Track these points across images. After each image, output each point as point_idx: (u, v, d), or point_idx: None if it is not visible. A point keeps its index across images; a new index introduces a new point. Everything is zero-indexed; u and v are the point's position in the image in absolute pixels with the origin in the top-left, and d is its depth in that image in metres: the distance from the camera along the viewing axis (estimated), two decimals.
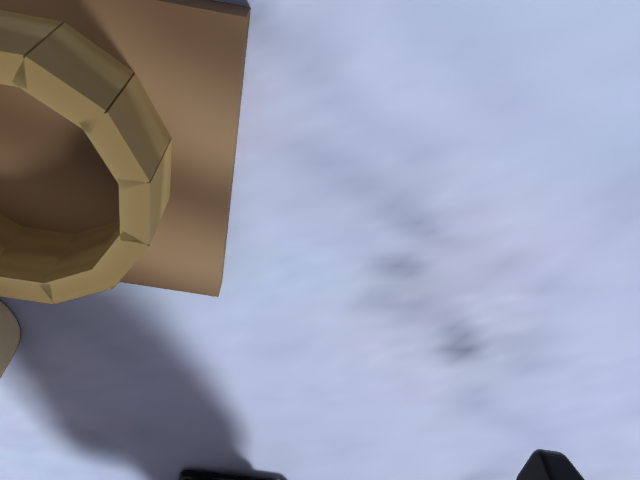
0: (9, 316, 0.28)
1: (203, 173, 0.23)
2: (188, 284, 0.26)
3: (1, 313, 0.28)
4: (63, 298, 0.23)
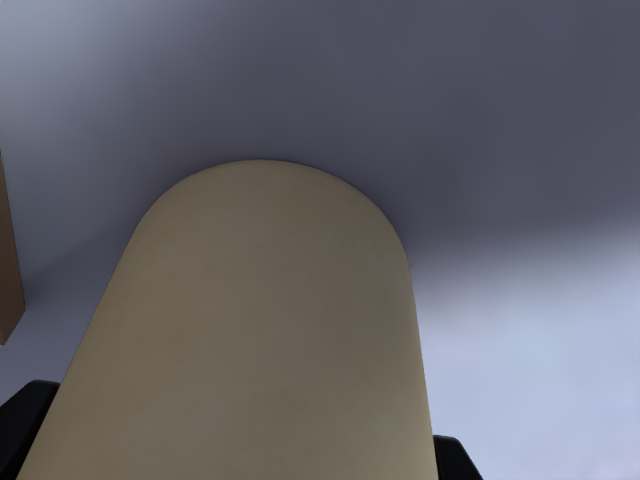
0: (219, 169, 0.10)
1: None
2: None
3: (192, 184, 0.10)
4: None
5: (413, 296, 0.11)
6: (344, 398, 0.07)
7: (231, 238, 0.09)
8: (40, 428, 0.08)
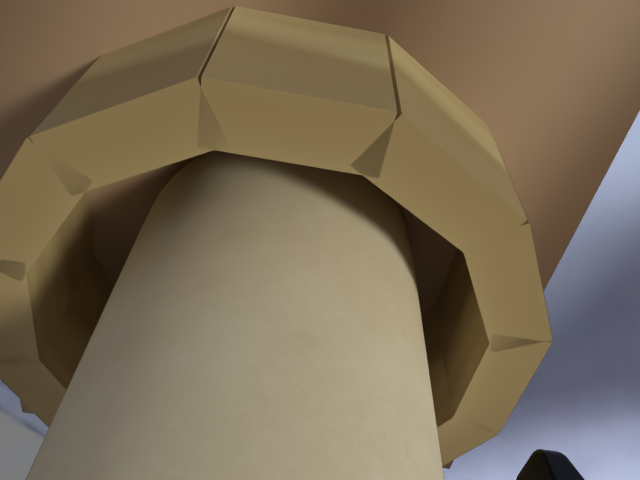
0: None
1: None
2: None
3: (209, 158, 0.11)
4: (538, 321, 0.10)
5: (413, 264, 0.11)
6: (352, 338, 0.08)
7: (247, 204, 0.09)
8: (75, 371, 0.08)
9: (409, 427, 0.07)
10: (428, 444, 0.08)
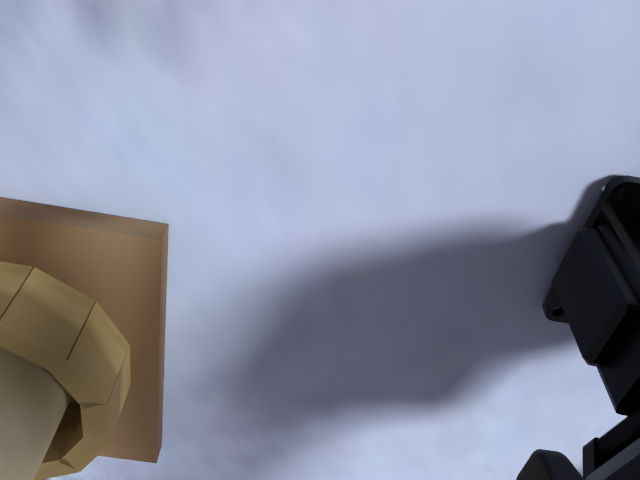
0: None
1: None
2: (149, 266, 0.23)
3: None
4: (95, 396, 0.23)
5: None
6: None
7: None
8: None
9: None
10: (3, 451, 0.20)
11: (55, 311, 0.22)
